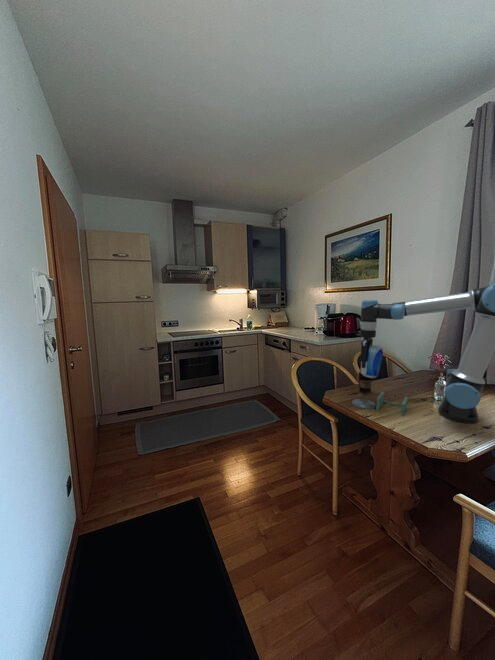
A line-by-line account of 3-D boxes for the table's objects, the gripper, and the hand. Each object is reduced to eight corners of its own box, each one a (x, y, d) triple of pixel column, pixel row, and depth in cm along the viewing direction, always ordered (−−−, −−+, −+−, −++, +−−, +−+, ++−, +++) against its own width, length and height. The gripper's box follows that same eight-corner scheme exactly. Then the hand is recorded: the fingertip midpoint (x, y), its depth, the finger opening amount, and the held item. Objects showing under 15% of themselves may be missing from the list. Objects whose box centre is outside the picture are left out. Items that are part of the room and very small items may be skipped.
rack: (407, 407, 137) (408, 396, 136) (403, 416, 127) (404, 404, 126) (381, 401, 144) (382, 391, 143) (376, 409, 134) (376, 398, 133)
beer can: (375, 380, 132) (382, 350, 128) (358, 374, 137) (364, 346, 133) (378, 376, 138) (385, 347, 135) (362, 371, 143) (368, 343, 139)
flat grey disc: (378, 403, 142) (378, 402, 142) (373, 411, 132) (373, 410, 132) (355, 398, 149) (355, 397, 149) (349, 405, 140) (349, 404, 140)
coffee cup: (374, 395, 153) (375, 374, 151) (359, 394, 155) (360, 373, 153) (370, 389, 161) (371, 369, 160) (356, 389, 163) (357, 369, 161)
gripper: (365, 326, 145) (363, 365, 149) (354, 331, 129) (352, 375, 132) (380, 327, 141) (377, 368, 144) (370, 332, 124) (368, 377, 128)
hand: (365, 371), depth 138 cm, fingers closed on beer can, 8 cm apart
